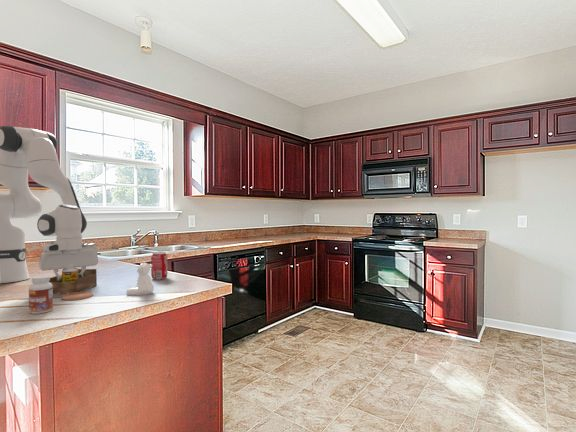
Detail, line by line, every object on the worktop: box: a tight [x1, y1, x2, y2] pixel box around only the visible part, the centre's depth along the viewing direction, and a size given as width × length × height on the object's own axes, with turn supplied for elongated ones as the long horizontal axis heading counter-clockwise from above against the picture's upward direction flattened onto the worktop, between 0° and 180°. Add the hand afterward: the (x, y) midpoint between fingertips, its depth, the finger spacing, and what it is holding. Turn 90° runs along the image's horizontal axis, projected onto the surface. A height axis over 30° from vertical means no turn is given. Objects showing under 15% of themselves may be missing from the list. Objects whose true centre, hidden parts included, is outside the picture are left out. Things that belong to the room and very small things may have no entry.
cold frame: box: [49, 268, 98, 294], centre depth 141 cm, size 14×14×7 cm
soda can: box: [150, 251, 168, 281], centre depth 161 cm, size 7×7×12 cm
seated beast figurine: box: [125, 262, 155, 296], centre depth 133 cm, size 10×9×12 cm
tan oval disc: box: [61, 290, 94, 301], centre depth 128 cm, size 10×10×1 cm
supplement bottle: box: [61, 264, 79, 282], centre depth 141 cm, size 6×6×10 cm
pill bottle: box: [28, 275, 54, 315], centre depth 110 cm, size 6×6×11 cm
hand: (70, 278), depth 141 cm, fingers open, 6 cm apart
